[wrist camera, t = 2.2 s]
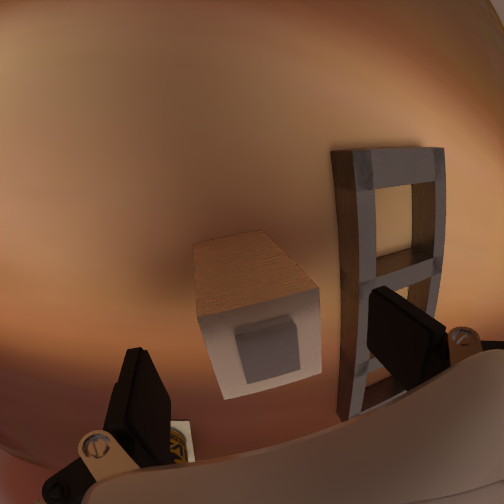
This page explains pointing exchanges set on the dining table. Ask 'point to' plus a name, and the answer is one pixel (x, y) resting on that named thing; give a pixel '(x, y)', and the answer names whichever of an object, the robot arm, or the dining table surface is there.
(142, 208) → the dining table surface
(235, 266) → the block
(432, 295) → the grey flat rectangular frame
